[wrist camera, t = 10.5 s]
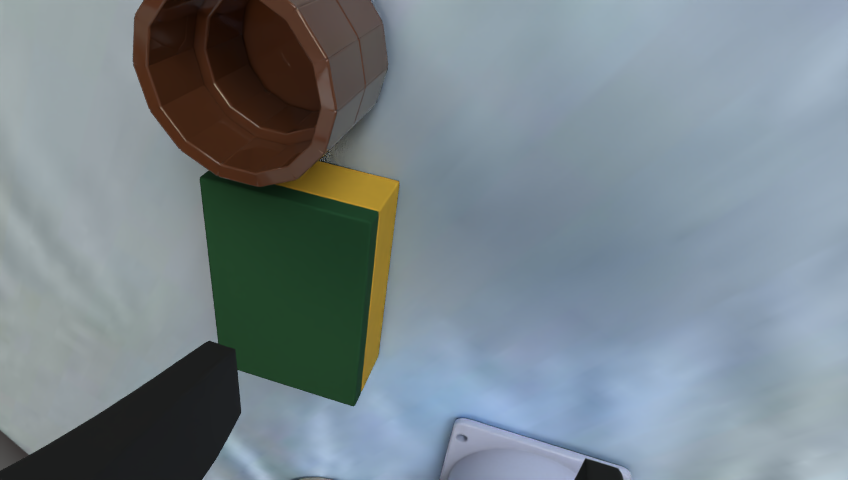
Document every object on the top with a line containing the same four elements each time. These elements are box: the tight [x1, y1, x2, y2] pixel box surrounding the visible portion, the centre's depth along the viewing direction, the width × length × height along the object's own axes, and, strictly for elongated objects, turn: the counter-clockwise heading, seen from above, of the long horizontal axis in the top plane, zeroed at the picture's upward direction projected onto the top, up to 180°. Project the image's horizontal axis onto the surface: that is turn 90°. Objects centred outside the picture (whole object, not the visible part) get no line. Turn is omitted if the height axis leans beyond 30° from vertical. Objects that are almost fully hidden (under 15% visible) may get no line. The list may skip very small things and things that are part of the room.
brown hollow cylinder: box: [133, 0, 388, 187], centre depth 16 cm, size 6×6×5 cm
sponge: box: [200, 161, 399, 406], centre depth 21 cm, size 9×6×3 cm, turn 172°
